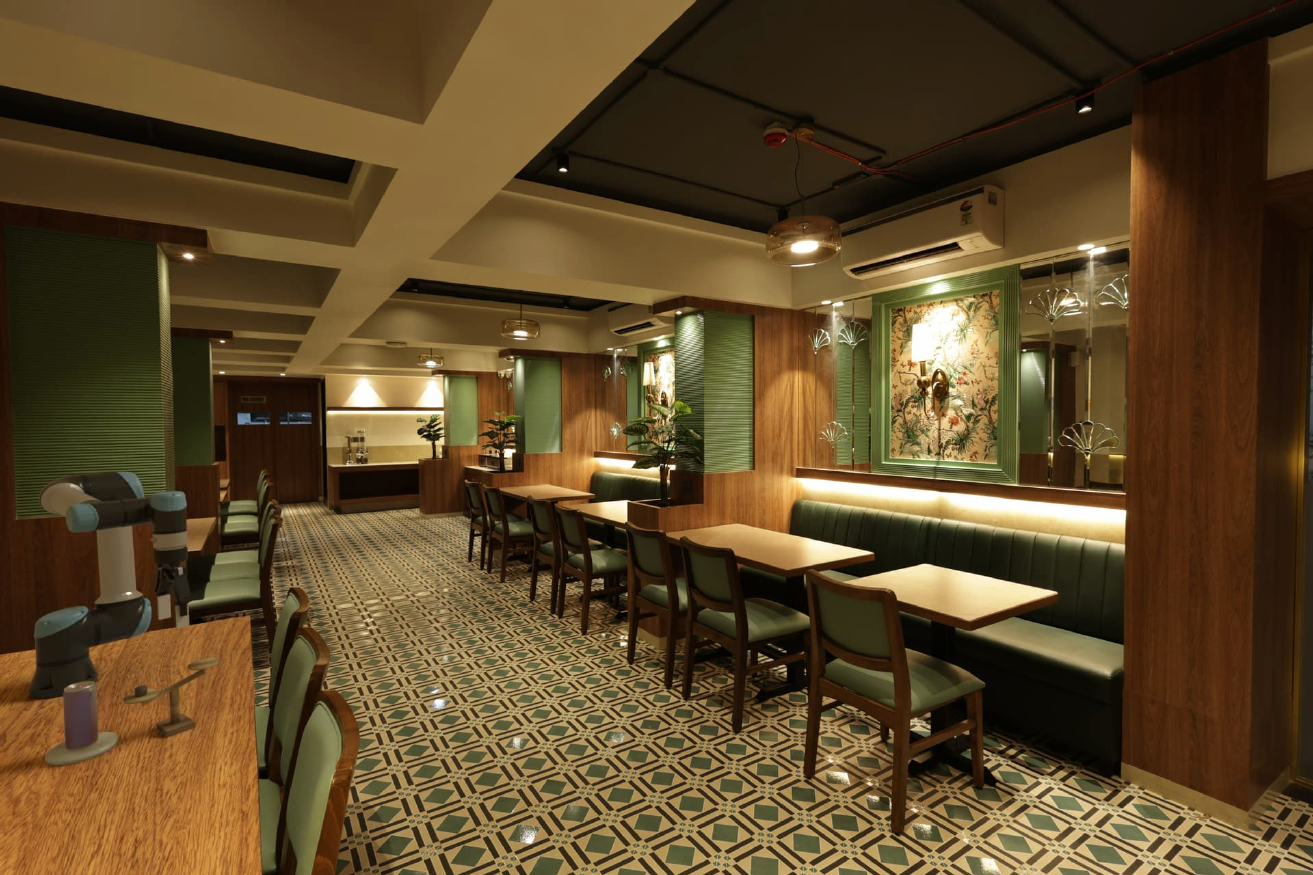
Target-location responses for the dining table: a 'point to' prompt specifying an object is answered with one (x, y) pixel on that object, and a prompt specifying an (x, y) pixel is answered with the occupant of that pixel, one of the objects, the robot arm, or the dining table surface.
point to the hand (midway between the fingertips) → (173, 622)
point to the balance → (171, 699)
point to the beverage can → (80, 715)
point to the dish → (81, 751)
